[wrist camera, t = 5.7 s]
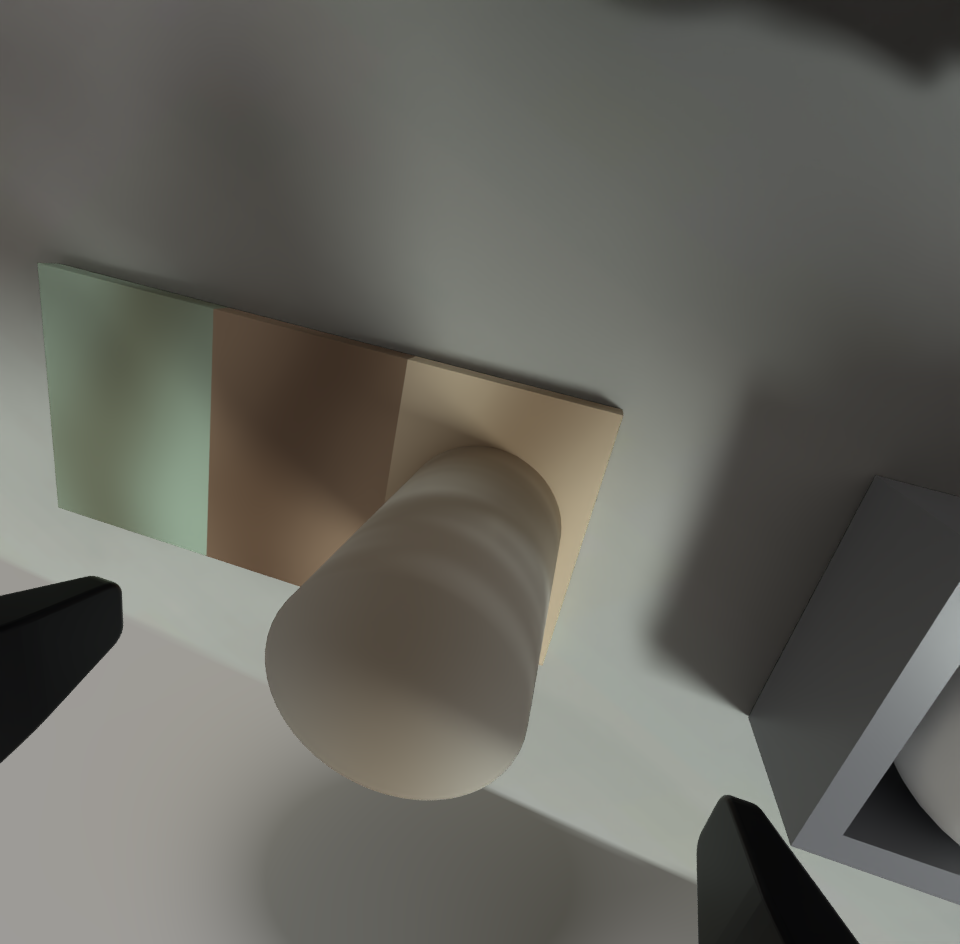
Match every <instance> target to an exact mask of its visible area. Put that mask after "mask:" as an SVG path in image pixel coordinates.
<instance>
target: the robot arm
mask: <svg viewBox="0 0 960 944" xmlns="http://www.w3.org/2000/svg"><path fill="white" fill-rule="evenodd" d="M122 630H123V609H122V591H121V588H120V587H119V585H118V584H116V583H114V582H112V581H109V580H106V579H103V578H100V577H96V576H88V577H83V578H78V579H74V580H69V581H65V582H60V583H56V584H51V585H47V586H42V587H38V588H33V589H29V590H25V591H20V592H15V593H11V594H6V595H2V596H0V763H1V762H2V761H3V760H4V759H6V758H7V757H8V756H9V755H10V754H11V753H12V752H13V751H14V750H15V749H16V748H17V747H18V746H19V745H21V744H22V743H23V742H24V741H25V740H26V739H27V738H28V737H29V736H30V735H31V734H32V733H33V732H34V731H35V730H36V729H37V728H38V727H39V726H40V725H41V724H42V723H43V722H44V721H45V720H46V719H47V717H48V716H49V715H50V714H51V713H52V712H53V711H54V710H55V709H56V708H57V707H58V706H59V704H60V703H61V702H62V701H63V700H64V699H65V698H66V697H67V696H68V695H69V694H70V693H71V691H72V690H73V689H74V688H75V687H76V686H77V685H78V684H79V683H80V682H81V681H82V679H83V678H84V677H85V676H86V675H87V674H88V673H89V672H90V671H91V670H92V669H93V668H94V666H95V665H96V664H97V663H98V662H99V661H100V660H101V659H102V658H103V657H104V656H105V655H106V653H107V652H108V651H109V650H110V649H111V648H112V647H113V646H114V645H115V643H116V642H117V640H118V639H119V637H120V635H121V633H122ZM697 896H698V943H699V944H859V942H858V941H857V940H856V938H855V937H854V936H853V934H852V933H851V931H850V930H849V929H848V927H847V926H846V925H845V923H844V922H843V921H842V919H841V918H840V916H839V915H838V914H837V912H836V911H835V910H834V908H833V907H832V906H831V904H830V903H829V901H828V900H827V899H826V897H825V896H824V895H823V893H822V892H821V890H820V889H819V888H818V886H817V885H816V884H815V882H814V881H813V880H812V878H811V877H810V875H809V874H808V873H807V871H806V870H805V869H804V867H803V866H802V864H801V863H800V862H799V860H798V859H797V858H796V856H795V855H794V854H793V852H792V851H791V849H790V848H789V847H788V845H787V844H786V843H785V841H784V840H783V839H782V837H781V836H780V834H779V833H778V832H777V830H776V829H775V828H774V826H773V825H772V823H771V822H770V821H769V819H768V818H767V817H766V815H765V814H764V813H763V811H762V810H761V809H760V808H759V807H758V806H757V805H755V804H753V803H751V802H748V801H745V800H742V799H739V798H736V797H734V796H731V795H724V796H722V797H721V798H720V799H719V801H718V802H717V804H716V806H715V808H714V810H713V811H712V813H711V815H710V817H709V819H708V821H707V822H706V824H705V826H704V828H703V830H702V832H701V834H700V836H699V840H698V845H697Z"/></svg>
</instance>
